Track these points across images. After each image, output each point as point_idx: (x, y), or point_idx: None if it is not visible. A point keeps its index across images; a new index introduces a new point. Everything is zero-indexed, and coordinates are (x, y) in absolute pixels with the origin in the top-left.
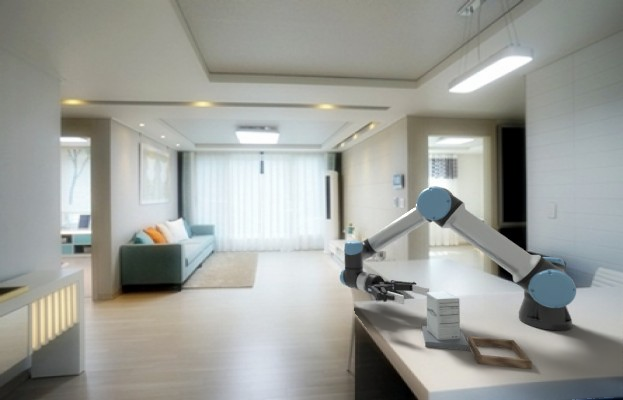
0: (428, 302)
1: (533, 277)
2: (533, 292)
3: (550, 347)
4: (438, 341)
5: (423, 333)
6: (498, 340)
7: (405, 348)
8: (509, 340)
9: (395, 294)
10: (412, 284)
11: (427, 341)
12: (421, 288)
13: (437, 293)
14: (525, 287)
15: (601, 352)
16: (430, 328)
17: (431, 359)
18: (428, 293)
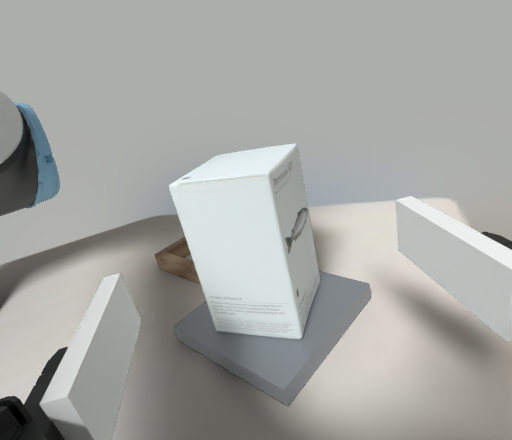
0: (285, 207)
1: (33, 121)
2: (54, 160)
3: (109, 260)
4: (324, 278)
5: (332, 331)
6: (181, 258)
7: (455, 299)
8: (163, 254)
9: (453, 221)
10: (24, 432)
11: (361, 282)
12: (109, 319)
13: (239, 165)
14: (19, 167)
15: (79, 245)
16: (306, 299)
17: (394, 252)
18: (272, 167)
